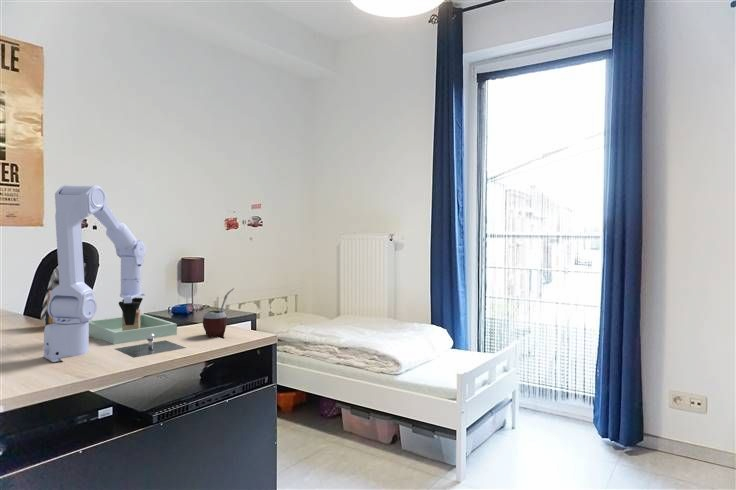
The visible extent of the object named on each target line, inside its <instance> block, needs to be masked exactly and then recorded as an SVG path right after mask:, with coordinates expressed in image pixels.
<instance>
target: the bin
mask: <svg viewBox="0 0 736 490" xmlns="http://www.w3.org/2000/svg"><path fill="white" fill-rule="evenodd" d="M116 331H118V332H116ZM149 333H153V334H154V335H155V339H157V338H163V337H169V336H176V335H177V334H178V324H177V323H175V322H172V321H168V320H165V319H162V318H159V317H154V316H151V315H148V314H140V328H139V329H132V330H125V331H122V316H119V317H111V318H102V319H94V320H91V321H89V337H90V338H92V339H95V340H103V341H106V342H108V343H111V344H112V345H118V344H125V343H131V342H139V341H144V340H147V339H146V336H147V335H148V334H149Z"/></svg>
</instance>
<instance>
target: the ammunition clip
mask: <svg viewBox="0 0 736 490" xmlns="http://www.w3.org/2000/svg"><path fill="white" fill-rule="evenodd" d="M51 291H52V290H51V289H49V290H48V292H47V299H46V311H45V326H46V325H49V324H54V323H56V322H53V318H51V317H50V316H49V314H48V303H49V300H50V292H51Z"/></svg>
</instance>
